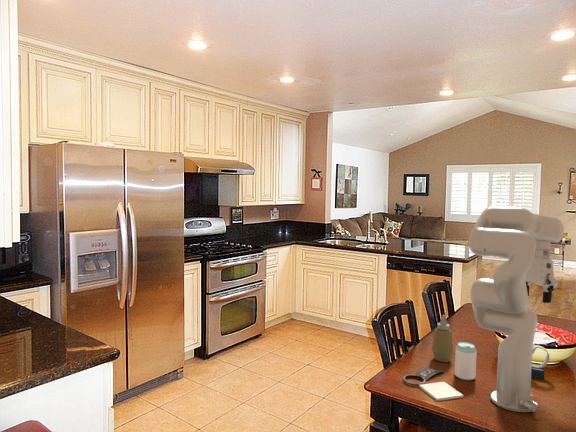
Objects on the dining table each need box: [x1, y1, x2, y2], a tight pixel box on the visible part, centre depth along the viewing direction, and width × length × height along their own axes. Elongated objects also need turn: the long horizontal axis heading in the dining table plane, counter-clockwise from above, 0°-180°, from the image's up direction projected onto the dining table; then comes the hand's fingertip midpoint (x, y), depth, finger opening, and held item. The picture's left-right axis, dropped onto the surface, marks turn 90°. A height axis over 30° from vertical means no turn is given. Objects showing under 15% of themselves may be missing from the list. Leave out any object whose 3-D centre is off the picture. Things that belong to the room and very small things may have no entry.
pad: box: [418, 381, 464, 402], centre depth 142 cm, size 10×10×1 cm
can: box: [454, 341, 478, 381], centre depth 153 cm, size 7×7×12 cm
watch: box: [531, 344, 551, 380], centre depth 156 cm, size 6×8×11 cm
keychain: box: [402, 366, 444, 388], centre depth 153 cm, size 8×19×2 cm, turn 131°
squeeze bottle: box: [431, 314, 454, 363], centre depth 169 cm, size 8×8×18 cm
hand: (535, 299), depth 155 cm, fingers open, 9 cm apart
